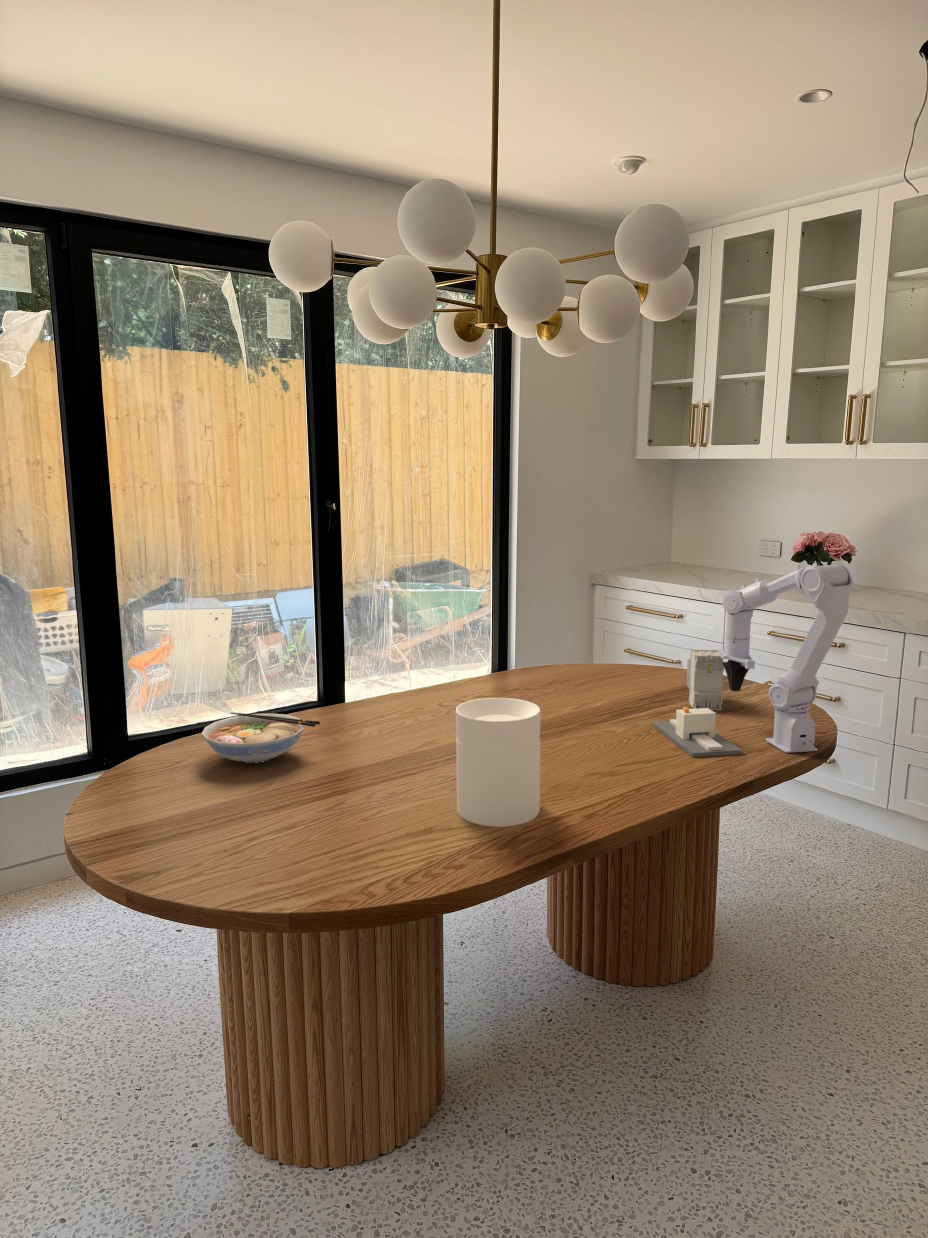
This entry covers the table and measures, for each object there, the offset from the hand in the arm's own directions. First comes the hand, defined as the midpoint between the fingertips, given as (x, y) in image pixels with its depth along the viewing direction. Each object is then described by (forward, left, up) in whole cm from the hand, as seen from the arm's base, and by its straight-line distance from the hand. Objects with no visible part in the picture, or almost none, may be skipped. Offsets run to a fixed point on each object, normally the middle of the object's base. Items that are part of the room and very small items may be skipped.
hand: (735, 690), depth 207 cm
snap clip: (-8, +14, -8) cm, 18 cm away
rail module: (-8, +14, -8) cm, 18 cm away
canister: (-41, +69, -10) cm, 81 cm away
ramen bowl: (-3, +118, -10) cm, 118 cm away
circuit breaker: (+22, -2, -10) cm, 24 cm away
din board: (-8, +14, -9) cm, 19 cm away
